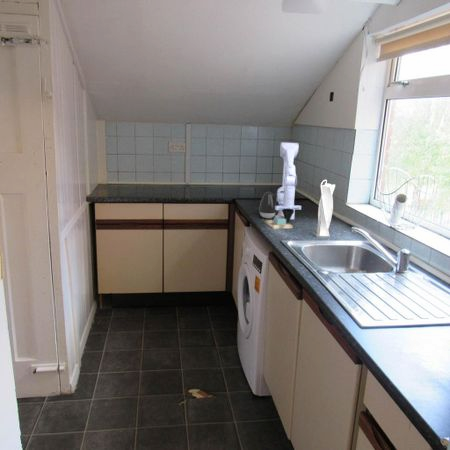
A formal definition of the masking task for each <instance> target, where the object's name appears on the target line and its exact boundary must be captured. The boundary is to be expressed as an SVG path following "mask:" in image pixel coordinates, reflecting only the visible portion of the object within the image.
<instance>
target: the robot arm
mask: <svg viewBox="0 0 450 450" xmlns="http://www.w3.org/2000/svg"><path fill="white" fill-rule="evenodd" d="M279 145H280V146H279V147H280V148H279V149H280V150H279V156H280V157H281V158H282V159H283V167H282V168H283V169H282V170H283V171H282V183H281V184H282V186H280V187H279V188H278V189H277V190H276V194H277V196H276V197H275V201H276V203H277V204H278V205H276V206H275V210H277V215H284V218H285V219H286V223H289V224H290V220H295V213H296V212H295V211H296V210H302V205H295V196H296V195H295V194H296V187H297V184H298V177H297V173H296V165H295V164H294V160H295V158H297V155H298V153H299V143H298V142H284V141H281V142H280V144H279Z"/></svg>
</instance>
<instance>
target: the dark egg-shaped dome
mask: <svg viewBox="0 0 450 450" xmlns="http://www.w3.org/2000/svg"><path fill="white" fill-rule="evenodd" d="M276 197H277V193H274V194H273V193H272V192H271V191H266V192H265V193H264V194H263V196H262V198H261V200H260V204H259V209H258V211H259V214H260V216H261V217H262V218H264V219H273V218H274V217H275V215H277V214H276V213H277V212H278V210H275V206H277V201H276Z"/></svg>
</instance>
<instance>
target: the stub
mask: <svg viewBox="0 0 450 450" xmlns="http://www.w3.org/2000/svg"><path fill="white" fill-rule="evenodd" d="M273 220H274V223H275V224H277V225H286V219H285V218H283V217H275V216H274V217H273Z"/></svg>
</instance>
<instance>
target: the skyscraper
mask: <svg viewBox="0 0 450 450" xmlns="http://www.w3.org/2000/svg"><path fill="white" fill-rule="evenodd" d="M324 182H325V183H324ZM327 182H328V180H327V179H324V180H322V182H321V183H320V193H321V195H320V198H319V203H318V208H317V209H318V212H317V219H318V220H317V228H316V232H313V233H312V235H313V236H315V238H322V239H323V238H324V239H330V238H331V236H330V233H329V232H330V231H329V228H330V225H331V222H332V216H333V210H334V198H333V193H334V192H335V191H334V190H335V189H336V184H334V183H333V184H331V183H327ZM323 183H324V184H323Z"/></svg>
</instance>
